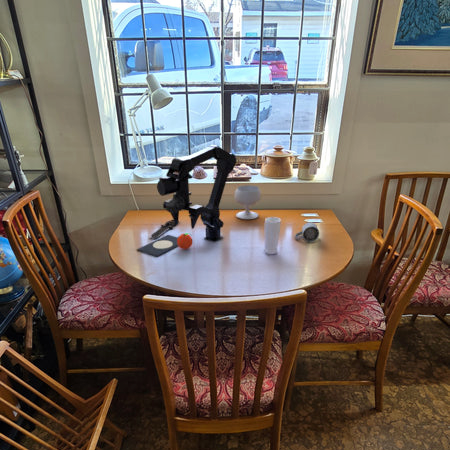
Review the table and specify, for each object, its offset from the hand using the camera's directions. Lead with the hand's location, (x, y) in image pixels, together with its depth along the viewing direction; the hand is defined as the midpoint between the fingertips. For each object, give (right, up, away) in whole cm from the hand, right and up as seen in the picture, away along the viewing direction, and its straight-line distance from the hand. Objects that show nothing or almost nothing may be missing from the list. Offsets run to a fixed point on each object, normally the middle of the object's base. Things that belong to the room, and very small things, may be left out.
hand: (184, 226), depth 161 cm
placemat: (-11, -7, +8) cm, 15 cm away
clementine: (0, -9, +6) cm, 11 cm away
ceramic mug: (+56, -4, +13) cm, 58 cm away
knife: (-13, +2, +24) cm, 27 cm away
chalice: (+30, +14, +40) cm, 52 cm away
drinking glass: (+38, -11, +2) cm, 40 cm away
